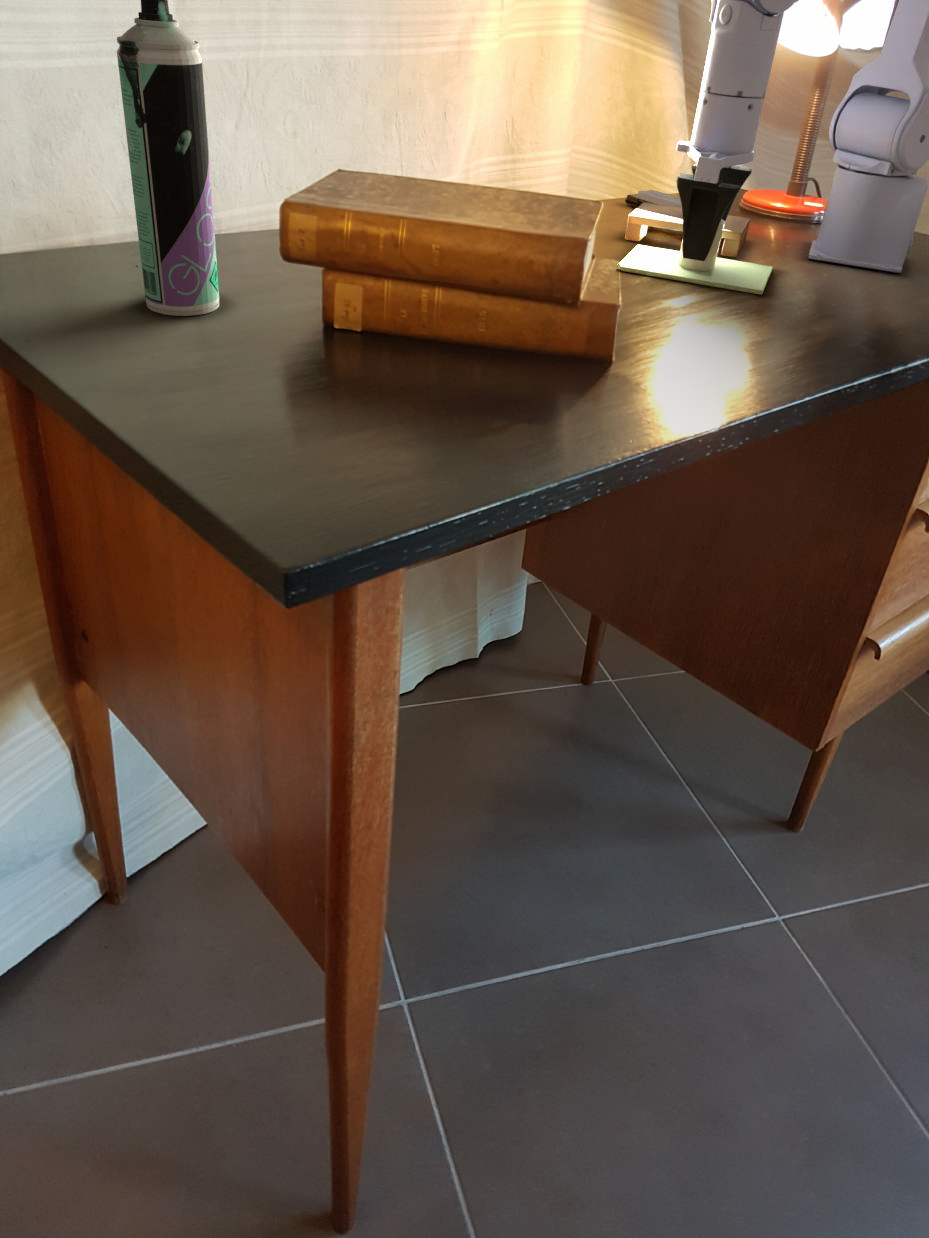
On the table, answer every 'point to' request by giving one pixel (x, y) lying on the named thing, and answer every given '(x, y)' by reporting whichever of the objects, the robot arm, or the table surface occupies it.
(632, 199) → the harmonica
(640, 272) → the mat
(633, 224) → the small bench
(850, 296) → the table surface
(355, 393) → the table surface
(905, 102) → the robot arm
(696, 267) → the spice bottle
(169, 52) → the spray can
